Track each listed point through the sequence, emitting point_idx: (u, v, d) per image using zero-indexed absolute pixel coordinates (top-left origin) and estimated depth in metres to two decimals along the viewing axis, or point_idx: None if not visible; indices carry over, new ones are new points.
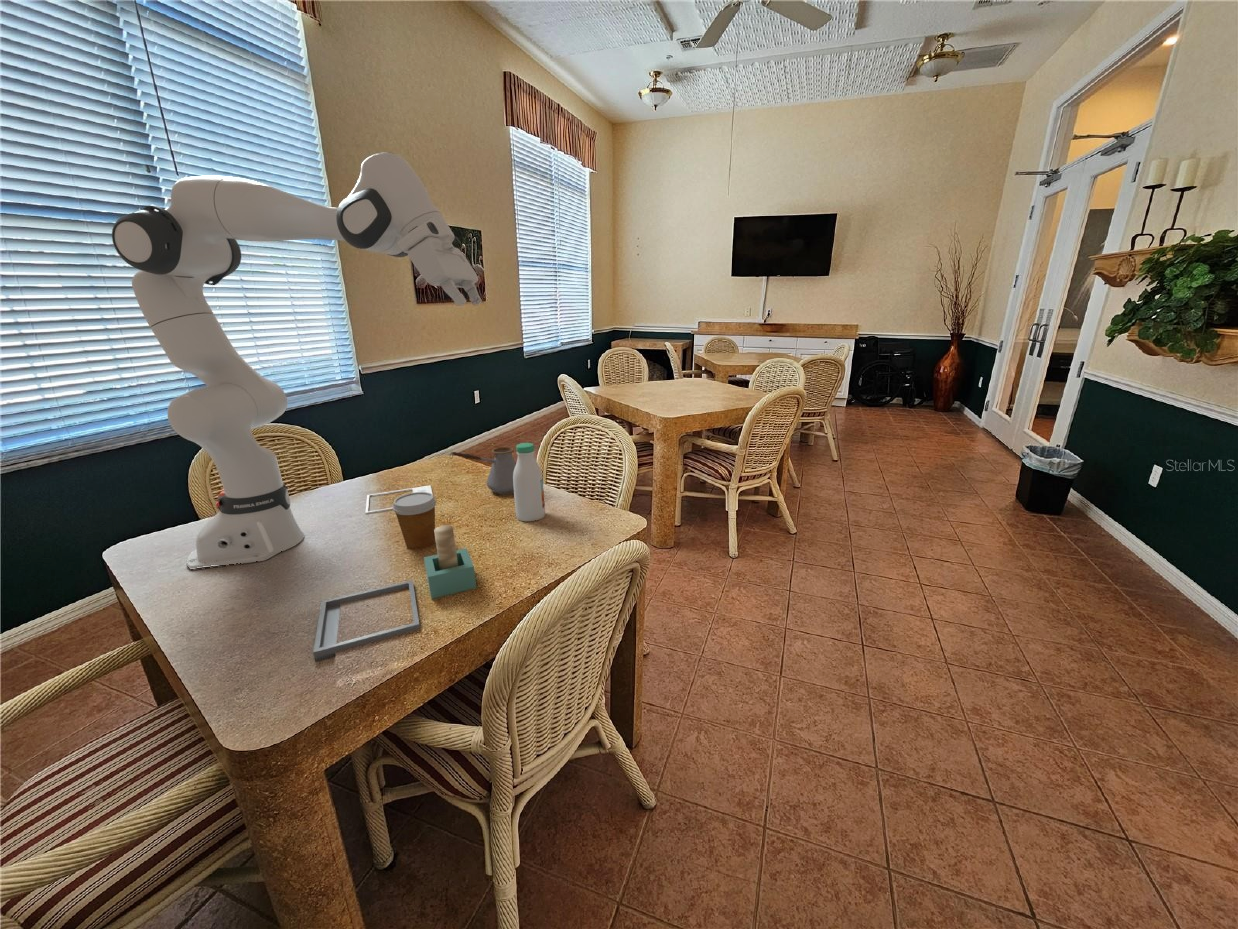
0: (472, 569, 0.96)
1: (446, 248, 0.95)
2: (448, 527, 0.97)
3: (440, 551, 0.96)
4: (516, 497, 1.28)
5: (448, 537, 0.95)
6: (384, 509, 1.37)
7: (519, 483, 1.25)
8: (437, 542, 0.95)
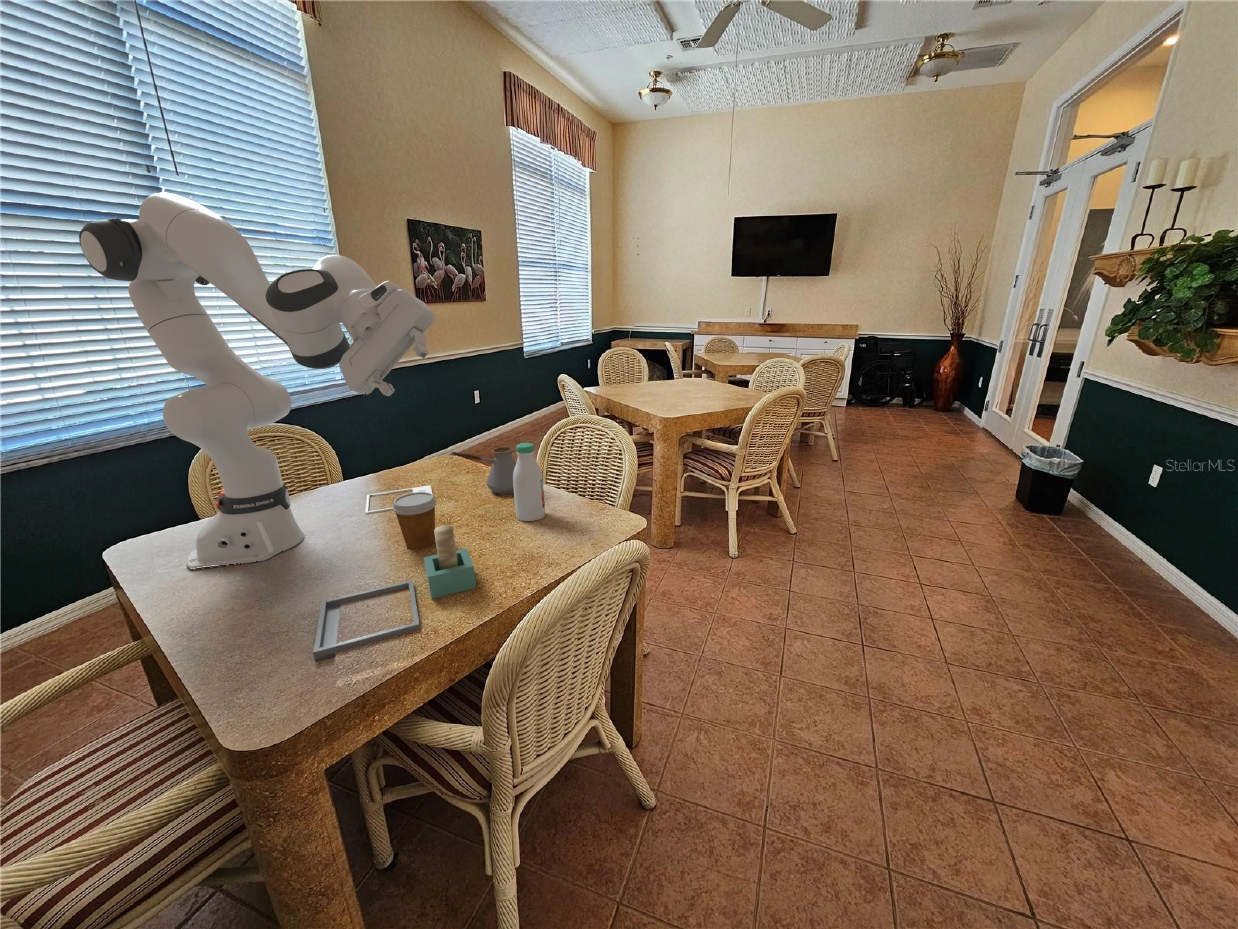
0: (472, 569, 0.96)
1: None
2: (448, 527, 0.97)
3: (440, 551, 0.96)
4: (516, 497, 1.28)
5: (448, 537, 0.95)
6: (384, 509, 1.37)
7: (519, 483, 1.25)
8: (437, 542, 0.95)
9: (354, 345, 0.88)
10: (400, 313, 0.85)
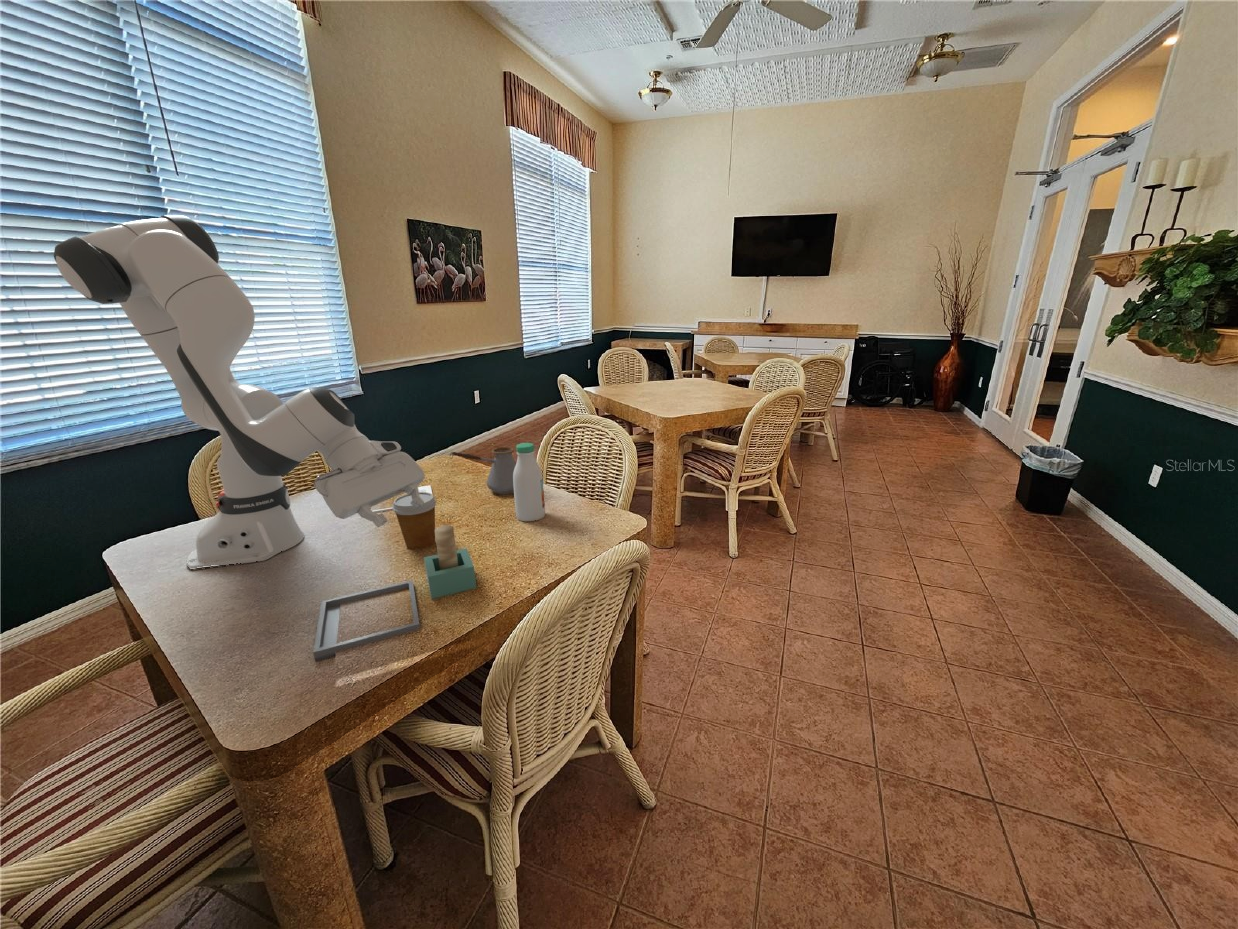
0: (472, 569, 0.96)
1: None
2: (448, 527, 0.96)
3: (440, 551, 0.96)
4: (516, 497, 1.28)
5: (448, 537, 0.95)
6: (384, 509, 1.37)
7: (519, 483, 1.25)
8: (437, 542, 0.95)
9: (349, 473, 0.93)
10: (404, 469, 1.02)
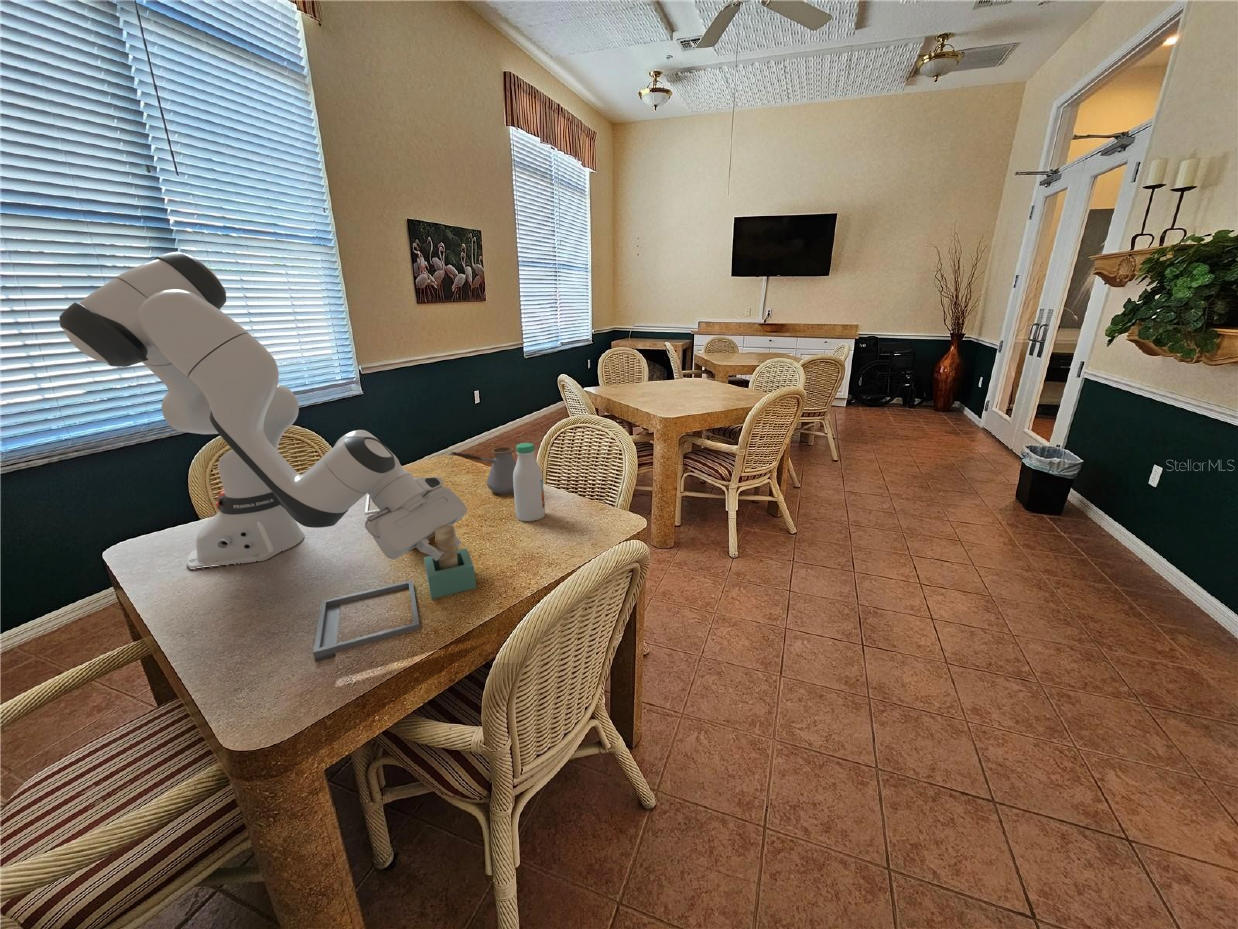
0: (472, 569, 0.96)
1: None
2: (448, 527, 0.96)
3: None
4: (516, 497, 1.28)
5: (448, 537, 0.95)
6: None
7: (519, 483, 1.25)
8: (437, 542, 0.95)
9: (398, 512, 0.93)
10: (447, 504, 1.02)
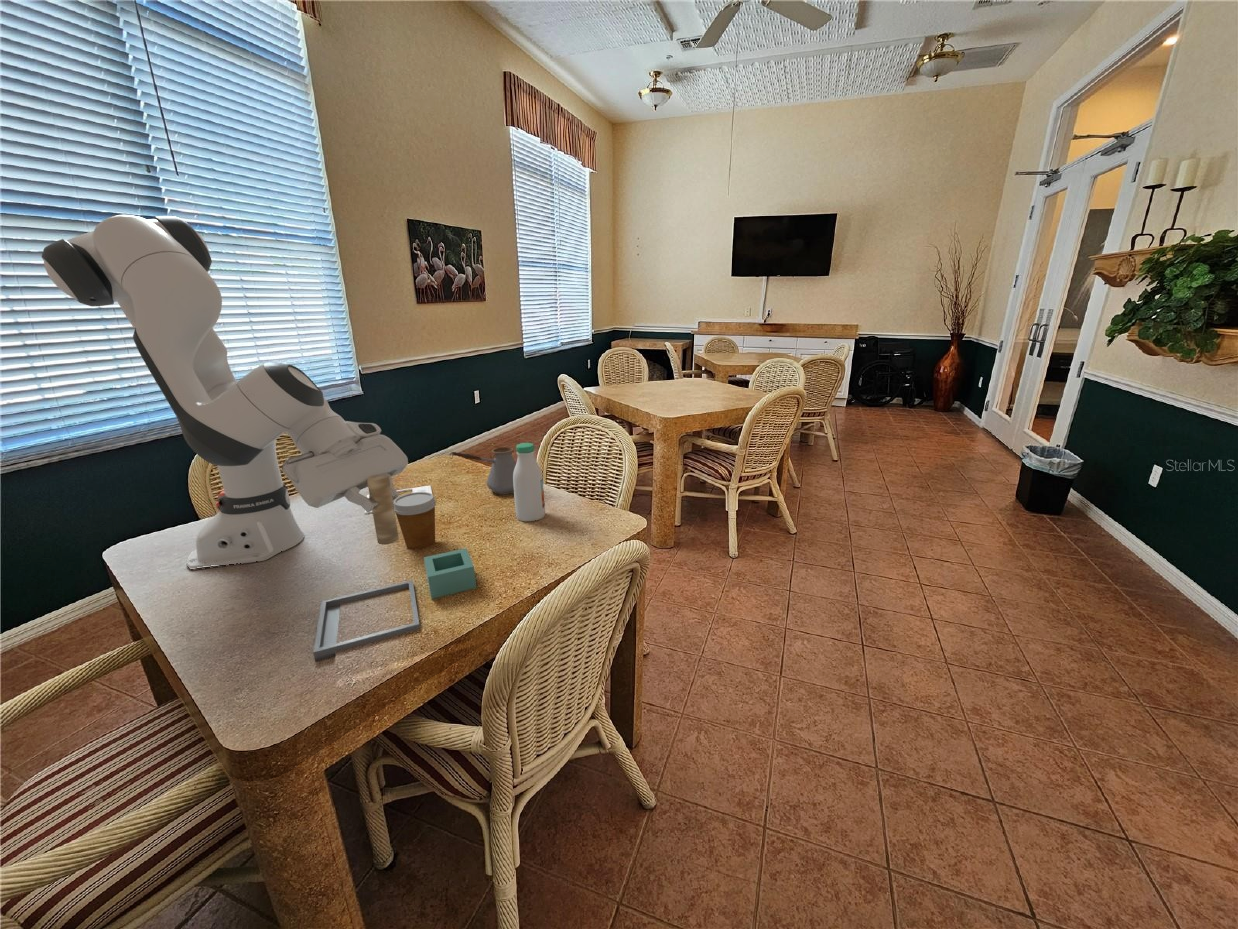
0: (472, 569, 0.96)
1: None
2: (383, 476, 0.86)
3: None
4: (516, 497, 1.28)
5: (383, 486, 0.85)
6: None
7: (519, 483, 1.25)
8: (370, 492, 0.85)
9: (323, 456, 0.82)
10: (385, 453, 0.92)
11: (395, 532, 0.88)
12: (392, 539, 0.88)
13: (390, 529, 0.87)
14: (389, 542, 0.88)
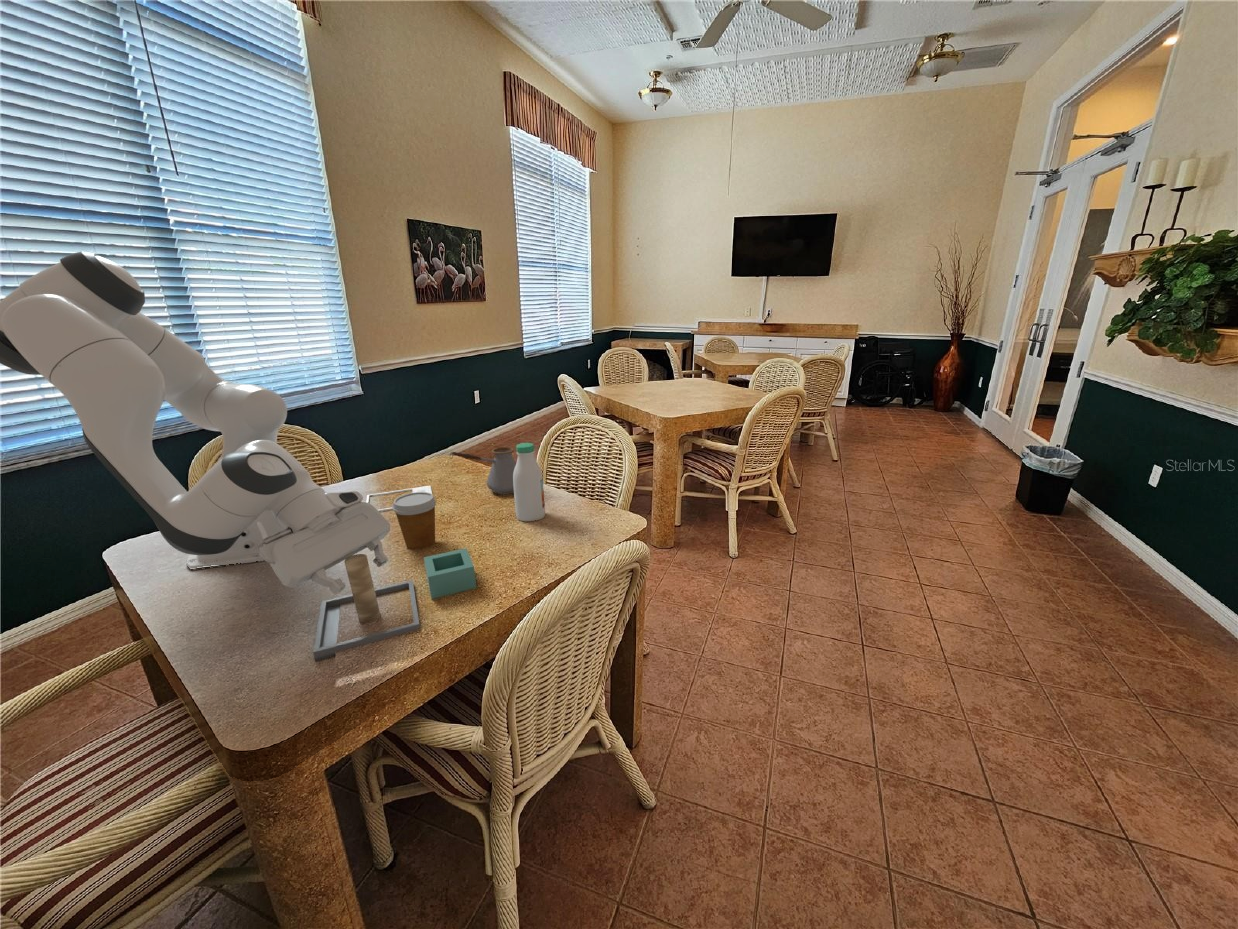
0: (472, 569, 0.96)
1: None
2: (361, 557, 0.86)
3: (352, 584, 0.85)
4: (516, 497, 1.28)
5: (360, 568, 0.85)
6: (383, 509, 1.37)
7: (519, 483, 1.25)
8: (348, 574, 0.85)
9: (301, 534, 0.82)
10: (366, 522, 0.91)
11: (376, 610, 0.88)
12: (373, 617, 0.88)
13: (370, 608, 0.87)
14: (370, 621, 0.88)
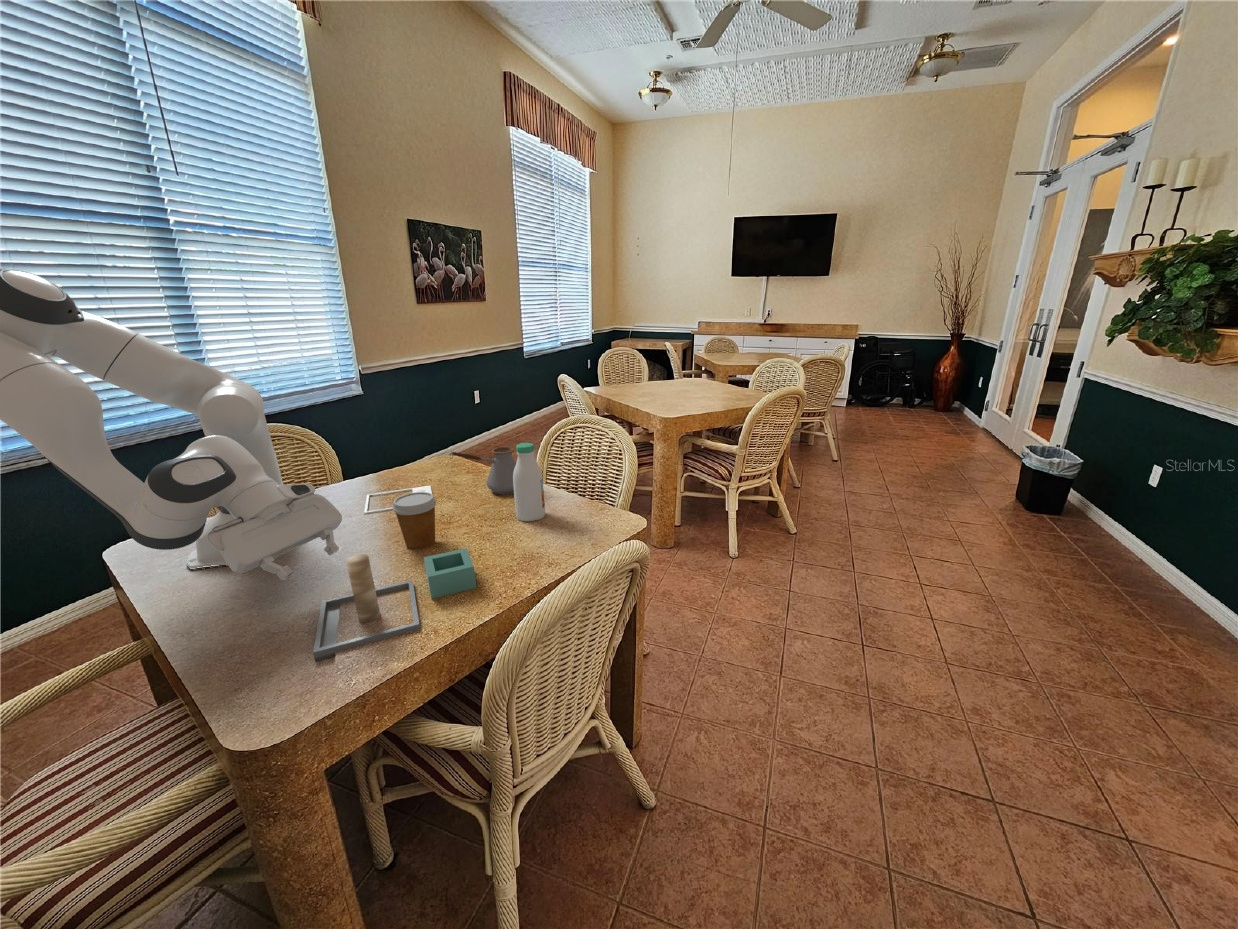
0: (472, 569, 0.96)
1: None
2: (363, 557, 0.86)
3: (353, 584, 0.85)
4: (516, 497, 1.28)
5: (362, 569, 0.85)
6: (383, 509, 1.37)
7: (519, 483, 1.25)
8: (349, 574, 0.85)
9: (251, 523, 0.87)
10: (317, 513, 0.96)
11: (376, 611, 0.88)
12: (373, 618, 0.88)
13: (370, 609, 0.87)
14: (370, 621, 0.88)
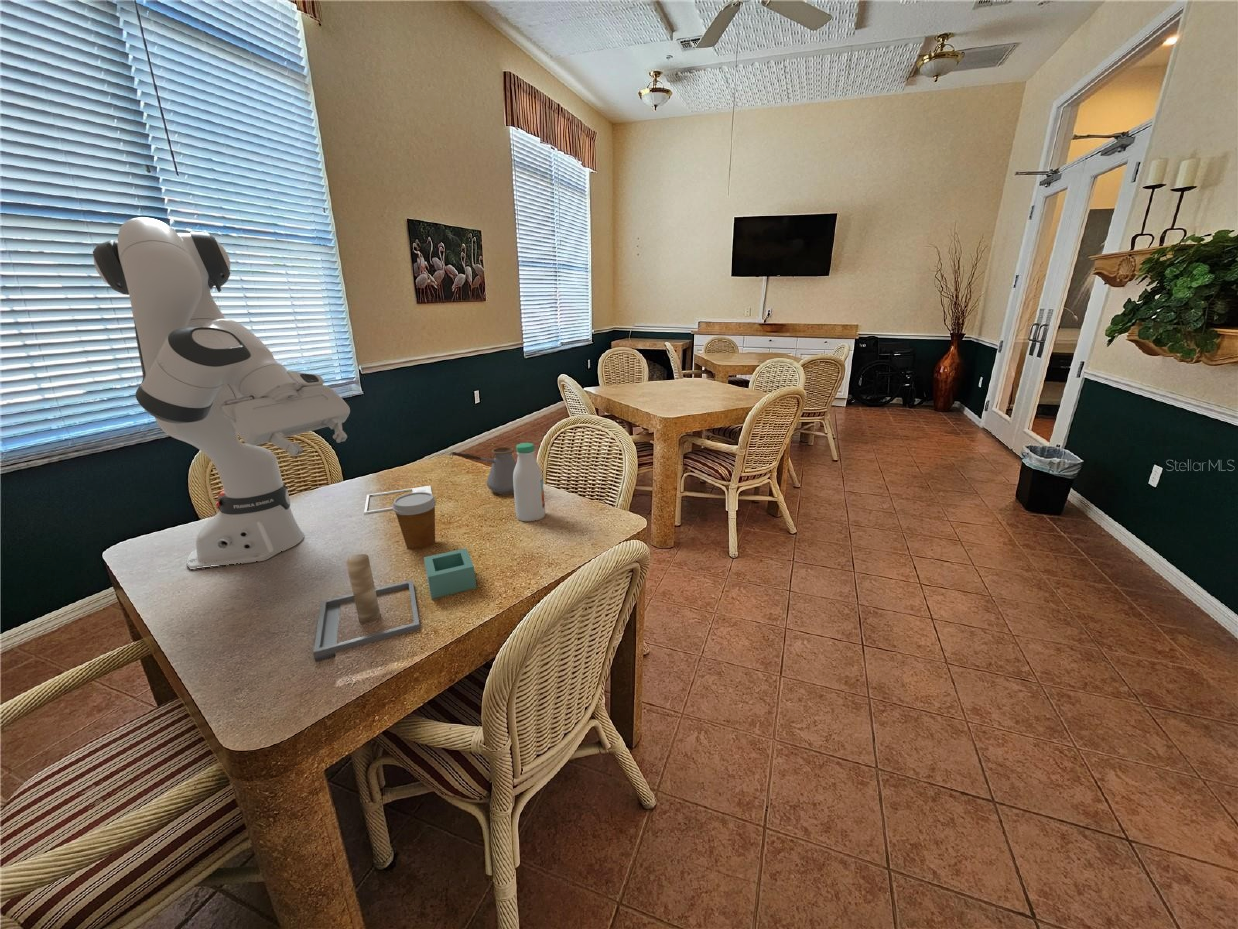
0: (472, 569, 0.96)
1: None
2: (363, 557, 0.86)
3: (353, 584, 0.85)
4: (516, 497, 1.28)
5: (362, 568, 0.85)
6: (383, 509, 1.37)
7: (519, 483, 1.25)
8: (349, 574, 0.85)
9: (262, 400, 0.89)
10: (326, 402, 0.98)
11: (376, 610, 0.88)
12: (373, 618, 0.88)
13: (370, 609, 0.87)
14: (370, 621, 0.88)
